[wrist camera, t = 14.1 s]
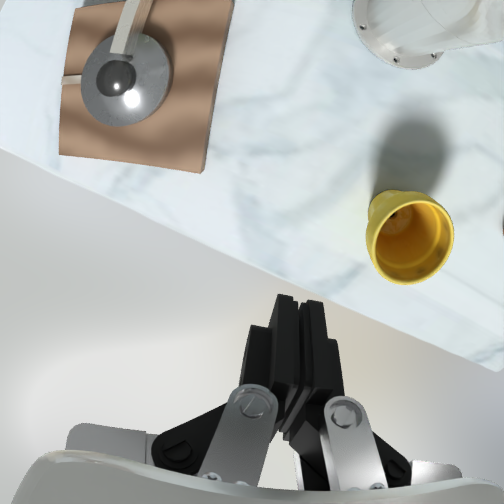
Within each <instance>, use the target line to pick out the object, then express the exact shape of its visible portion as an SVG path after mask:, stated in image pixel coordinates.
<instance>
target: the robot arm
mask: <svg viewBox="0 0 504 504" xmlns="http://www.w3.org/2000/svg"><path fill="white" fill-rule="evenodd" d="M352 19H353V23H354V27H355V29H356V32H357V34H358V36H359V37H360V39H361V41H362V42H363V44H364V45H365V46H366V47H367V48H368V49H369V50H370V51H371V52H372V53H373V54H374V55H375V56H377V57H378V58H379V59H381V60H382V61H384V62H386V63H388V64H390V65H392V66H395V67H398V68H402V69H412V70H413V69H421V68H425V67H428V66H430V65H432V64H434V63H435V62H436V61H438V60H439V58H440V57H441V56H442V54H443V52H444V51H448V50H453V49H459V48H465V47H472V46H479V45H486V44H493V43H497V42H501V41H503V40H504V0H354V2H353V8H352ZM360 27H363V30H362V29H360ZM431 54H432V56H433V57H432V56H431ZM393 59H396V62H394V60H393ZM278 429H279V432H283V440H285V441H289V445H290V446H291V447H292V448H293V449H294V463H295V470H296V477H297V485H298V490H284V489H271V488H262V487H257V485H258V482H259V479H260V475H261V472H262V468H263V465H264V461H265V457H266V454H267V450H268V447H269V443H271V441H272V439H273V437H274V436H275V434H276V432H277V431H278ZM11 504H504V491H503V489H502V488H501V487H500V486H499V485H498V484H496V483H494V482H492V481H489V480H485V479H480V478H462V473H461V472H460V470H459V468H457V467H456V466H454V465H452V464H444V463H434V462H426V461H419V460H412V461H410V462H409V461H407V460H406V458H405V457H403V456H402V455H401V454H400V453H399V452H397V451H396V450H395V449H393V448H392V447H391V446H390V445H389V444H387V443H386V442H385V441H384V440H382V439H381V438H380V437H379V436H378V435H376V434H375V433H374V432H373V431H372V430H371V426H370V423H369V420H368V417H367V414H366V411H365V409H364V407H363V406H362V405H361V404H360V403H359V402H358V401H356V400H355V399H353V398H350V397H347V396H345V394H344V386H343V379H342V371H341V363H340V357H339V350H338V344H337V341H336V340H335V339H329V338H328V336H327V328H326V320H325V313H324V307H323V302H319V301H313V300H307V302H306V303H303V302H302V303H301V305H300V307H299V310H298V302H297V301H293V297H292V296H288V295H283V294H278V295H277V299H276V302H275V305H274V309H273V312H272V316H271V319H270V322H269V326H268V328H266V327H261V326H256V325H251V327H250V331H249V335H248V339H247V343H246V347H245V352H244V357H243V363H242V369H241V375H240V381H239V387H237V388H236V389H235V390H233V392H232V393H231V395H230V397H229V399H228V402H227V403H225V404H223V405H221V406H219V407H217V408H215V409H213V410H211V411H209V412H207V413H205V414H203V415H201V416H198V417H196V418H194V419H192V420H190V421H188V422H186V423H184V424H181V425H179V426H177V427H175V428H172V429H170V430H168V431H165V432H163V433H162V434H160V435H157V434H147V433H146V431H139V430H130V429H122V428H115V427H108V426H102V425H95V424H90V423H81V424H78V425H76V426H74V427H73V428H72V429H71V430H70V432H69V435H68V437H67V443H66V449H65V450H60V451H53V452H49V453H46V454H44V455H43V456H41V457H40V458H38V459H37V460H36V462H35V463H34V464H33V465H32V466H31V468H30V469H29V470H28V472H27V473H26V475H25V477H24V478H23V480H22V482H21V484H20V486H19V488H18V490H17V492H16V494H15V496H14V498H13V501H12V503H11Z"/></svg>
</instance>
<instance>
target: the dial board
mask: <svg viewBox="0 0 504 504" xmlns="http://www.w3.org/2000/svg"><path fill="white" fill-rule="evenodd" d="M125 2H126V1H121V2H113V3H106V4H99V5H93V6H87V7H81V8H76V9H75V12H74V17H73V21H72V26H71V31H70V36H69V42H68V47H67V54H66V60H65V67H64V75H63V77H62V82H61V85H62V94H61V107H60V124H59V155H66V156H76V157H85V158H94V159H103V160H111V161H119V162H127V163H134V164H142V165H149V166H155V167H162V168H168V169H175V170H181V171H187V172H193V173H199V174H200V173H201V172H203V171H204V167H205V160H206V154H207V147H208V140H209V134H210V127H211V121H212V115H213V109H214V103H215V98H216V92H217V86H218V81H219V76H220V70H221V65H222V60H223V55H224V50H225V45H226V40H227V35H228V31H229V26H230V21H231V17H232V12H233V8H234V4H233V2H232V0H153V2H152V4H151V7H150V10H149V13H148V16H147V19H146V22H145V24H144V28H143V31H142V34H145V35H148V36H150V37H153V38H155V39H156V40H158V41H159V42H160V43H161V44H162V45H163V46H164V47H165V48H166V50H167V51H168V53H169V55H170V58H171V61H172V65H173V81H172V85H171V89H170V92H169V94H168V96H167V98H166V100H165V101H164V103H163V104H162V106H161V107H160V108H159V109H158V110H157V111H156V112H155V113H154V114H153V115H151V116H150V117H149V118H147V119H145V120H143V121H141V122H138V123H135V124H131V125H127V126H121V127H115V126H109V125H105V124H103V123H101V122H99V121H98V120H96V119H95V118H94V117H93V116H92V115H91V114H90V113H89V112H88V110H87V108H86V107H85V104H84V102H83V99H82V95H81V76H82V72H83V68H84V66H85V63H86V61H87V59H88V57H89V56H90V54H91V53H92V52H93V50H94V49H95V48H96V47H97V46H98V45H99V44H100V43H101V42H103V41H104V40H105V39H107V38H109V37H111V36H113V35H115V32H116V29H117V26H118V23H119V20H120V17H121V14H122V11H123V8H124V5H125Z"/></svg>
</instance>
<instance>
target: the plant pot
mask: <svg viewBox="0 0 504 504" xmlns="http://www.w3.org/2000/svg"><path fill="white" fill-rule="evenodd" d="M394 212H395V215H394V216H393V217H391V218H390V216H391V215H392V214H393V213H394ZM368 220H369V222H368V225H367V229H366V245H367V249H368V252H369V255H370V258H371V260H372V262H373V264H374V267H375V268H376V270H377V271H378V273H379V274H380V275H381V276H382V277H383V278H385V279H386V280H388V281H390V282H392V283H395V284H399V285H411V284H416V283H419V282H422V281H424V280H426V279H428V278H430V277H431V276H433V275H434V274H435V273H437V272H438V271H439V270H440V269H441V267H442V266H443V265H444V264H445V262H446V261H447V259H448V257H449V255H450V253H451V250H452V246H453V242H454V228H453V223H452V220H451V218H450V216H449V214H448V213H447V211H446V210H445V209H444V208H443V207H442V206H441V205H440V204H439V203H438V202H436V201H435V200H434V199H432V198H431V197H429V196H427V195H426V194H423V193H420V192H416V191H405V192H402V191H399V190H386V191H383V192H381V193H380V194H378V195H377V196H376V197H375V198H374V199H373V200H372V202H371V204H370V207H369V210H368Z"/></svg>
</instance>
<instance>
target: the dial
mask: <svg viewBox="0 0 504 504" xmlns="http://www.w3.org/2000/svg"><path fill="white" fill-rule="evenodd" d="M152 2H153V0H126V2H125V5H124V8H123V11H122V14H121V17H120V20H119V23H118V26H117V29H116V32H115V35H113V36H111V37H109V38H107V39H105V40H104V41H103V42H101V43H100V44H99V45H98V46H97V47H96V48H95V49H94V50H93V52H92V53H91V54H90V56H89V57H88V59H87V61H86V63H85V66H84V68H83V72H82V76H81V95H82V99H83V102H84V104H85V107H86V108H87V110H88V112H89V113H90V114H91V115H92V116H93V117H94V118H95V119H96V120H98V121H99V122H101V123H103V124H105V125H109V126H115V127H121V126H127V125H131V124H135V123H138V122H141V121H143V120H145V119H147V118H149V117H150V116H151V115H153V114H154V113H155V112H156V111H157V110H158V109H159V108H160V107H161V106H162V104H163V103H164V101H165V100H166V98H167V96H168V94H169V92H170V89H171V85H172V81H173V65H172V61H171V58H170V55H169V53H168V51H167V50H166V48H165V47H164V46H163V45H162V44H161V43H160V42H159V41H158V40H156V39H155V38H153V37H150V36H148V35H145V34H142V31H143V28H144V24H145V22H146V19H147V16H148V13H149V10H150V7H151V4H152Z"/></svg>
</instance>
